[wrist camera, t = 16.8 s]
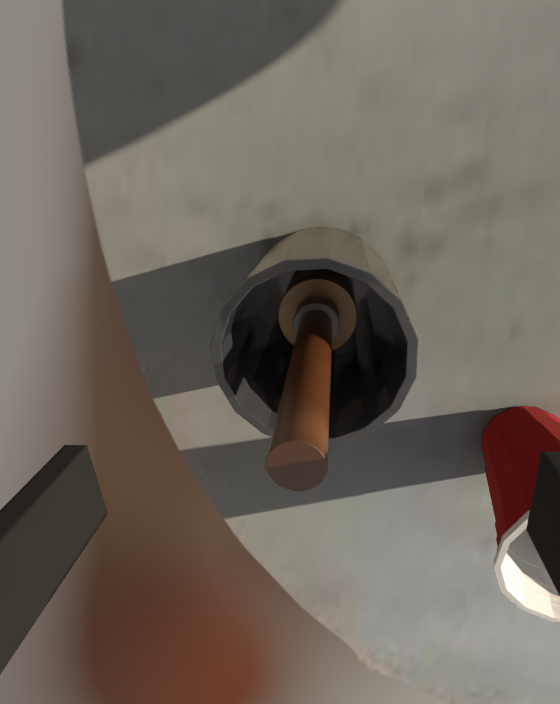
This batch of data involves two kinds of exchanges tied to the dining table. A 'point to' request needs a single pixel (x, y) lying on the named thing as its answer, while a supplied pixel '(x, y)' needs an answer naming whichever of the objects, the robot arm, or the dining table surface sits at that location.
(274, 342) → the grey cylindrical container
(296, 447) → the brush
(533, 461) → the plastic cup
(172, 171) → the dining table surface
